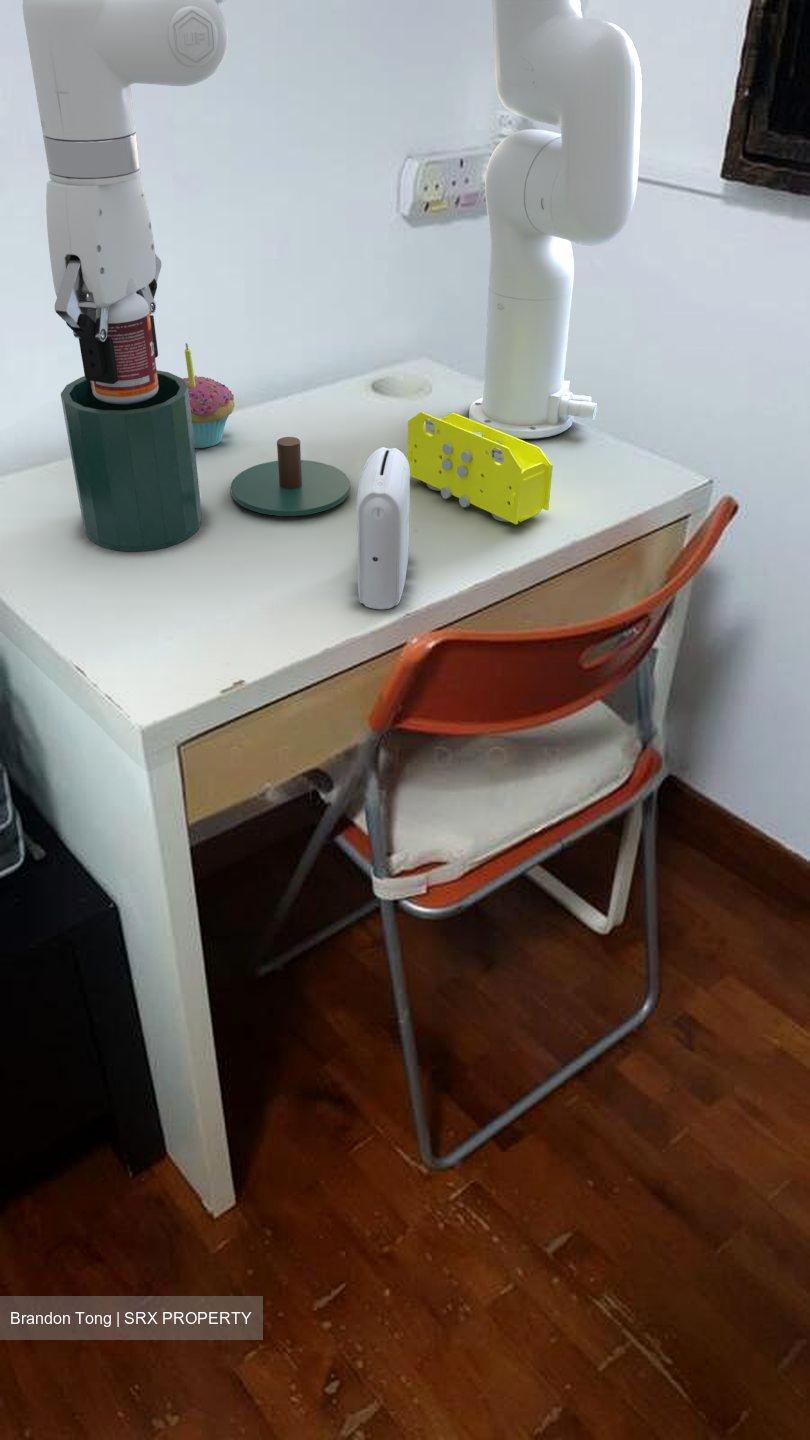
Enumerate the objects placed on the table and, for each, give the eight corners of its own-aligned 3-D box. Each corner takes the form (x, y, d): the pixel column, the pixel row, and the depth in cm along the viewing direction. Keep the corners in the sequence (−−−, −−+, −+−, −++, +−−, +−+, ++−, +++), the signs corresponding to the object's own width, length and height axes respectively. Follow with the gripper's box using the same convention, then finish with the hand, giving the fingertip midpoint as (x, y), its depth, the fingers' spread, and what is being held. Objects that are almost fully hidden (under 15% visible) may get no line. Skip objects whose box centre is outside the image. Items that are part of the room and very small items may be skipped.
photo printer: (401, 612, 103) (403, 485, 96) (354, 609, 103) (352, 482, 96) (411, 557, 111) (413, 436, 104) (367, 555, 111) (366, 434, 104)
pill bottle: (171, 396, 108) (157, 275, 101) (112, 411, 105) (93, 288, 98) (139, 377, 112) (124, 259, 105) (81, 392, 108) (61, 271, 102)
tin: (209, 499, 121) (196, 369, 112) (191, 552, 111) (175, 414, 103) (99, 498, 121) (78, 367, 112) (72, 550, 111) (47, 412, 103)
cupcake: (231, 455, 130) (222, 350, 123) (156, 454, 130) (143, 349, 123) (241, 426, 137) (233, 325, 130) (170, 425, 137) (158, 323, 130)
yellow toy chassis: (404, 482, 125) (404, 408, 120) (441, 467, 128) (443, 395, 123) (512, 533, 115) (518, 455, 110) (549, 516, 119) (556, 439, 114)
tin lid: (353, 470, 127) (352, 418, 123) (347, 522, 117) (346, 467, 113) (239, 468, 127) (235, 417, 123) (224, 520, 117) (219, 465, 113)
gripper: (110, 136, 103) (136, 335, 114) (-9, 174, 90) (33, 395, 101) (183, 142, 101) (203, 345, 112) (72, 182, 88) (106, 407, 99)
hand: (122, 366), depth 106 cm, fingers closed on pill bottle, 6 cm apart
